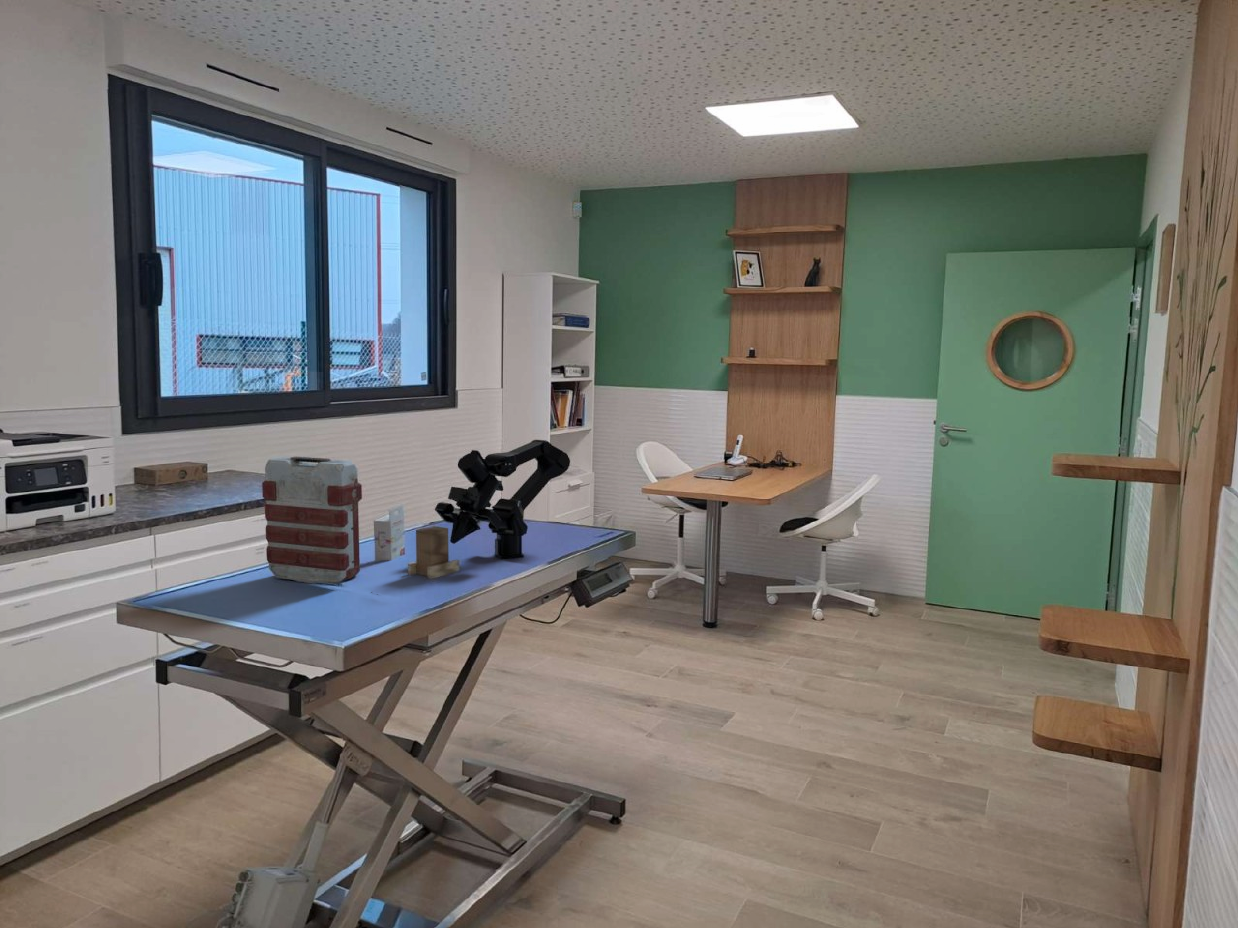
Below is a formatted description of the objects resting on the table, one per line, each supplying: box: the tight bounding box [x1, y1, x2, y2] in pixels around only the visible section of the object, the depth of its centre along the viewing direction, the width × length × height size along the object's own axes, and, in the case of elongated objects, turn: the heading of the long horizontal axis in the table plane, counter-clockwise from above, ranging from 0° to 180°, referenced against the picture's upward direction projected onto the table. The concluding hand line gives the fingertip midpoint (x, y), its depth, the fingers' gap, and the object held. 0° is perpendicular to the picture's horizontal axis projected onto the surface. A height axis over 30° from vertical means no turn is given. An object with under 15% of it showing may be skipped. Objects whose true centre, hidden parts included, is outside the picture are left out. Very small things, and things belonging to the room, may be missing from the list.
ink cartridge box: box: [373, 504, 406, 563], centre depth 239 cm, size 9×5×15 cm, turn 168°
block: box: [415, 525, 450, 577], centre depth 223 cm, size 6×5×11 cm
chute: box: [407, 559, 460, 580], centre depth 222 cm, size 18×10×4 cm, turn 147°
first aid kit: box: [261, 456, 363, 586], centre depth 218 cm, size 23×8×30 cm, turn 71°
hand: (452, 542), depth 228 cm, fingers closed
